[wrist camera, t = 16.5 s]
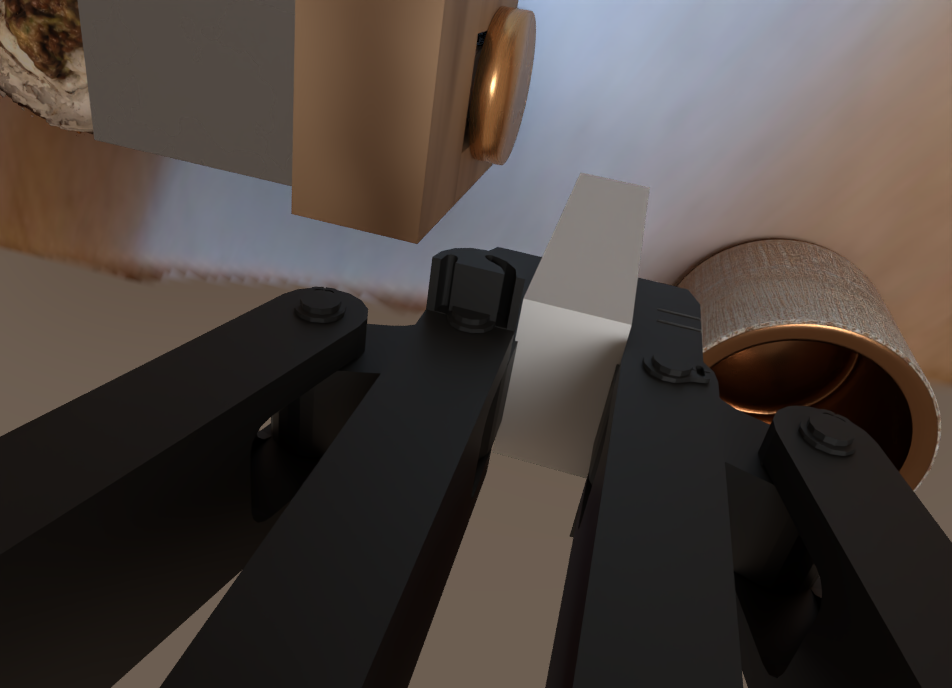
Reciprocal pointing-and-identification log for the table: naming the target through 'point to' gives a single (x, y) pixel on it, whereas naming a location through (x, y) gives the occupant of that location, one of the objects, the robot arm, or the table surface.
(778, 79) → the table surface
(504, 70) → the shaft
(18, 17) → the cream tart
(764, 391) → the planter
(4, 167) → the table surface
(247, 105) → the block
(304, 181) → the spacer
